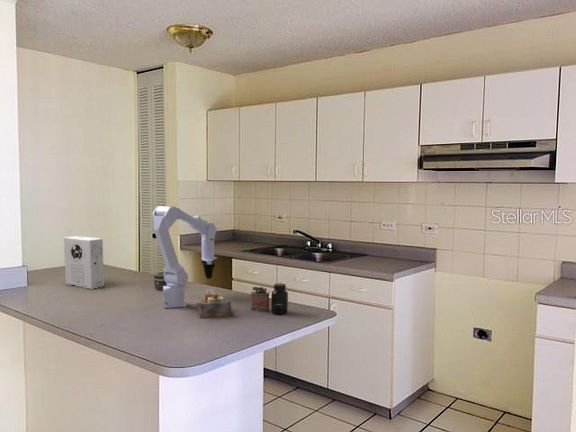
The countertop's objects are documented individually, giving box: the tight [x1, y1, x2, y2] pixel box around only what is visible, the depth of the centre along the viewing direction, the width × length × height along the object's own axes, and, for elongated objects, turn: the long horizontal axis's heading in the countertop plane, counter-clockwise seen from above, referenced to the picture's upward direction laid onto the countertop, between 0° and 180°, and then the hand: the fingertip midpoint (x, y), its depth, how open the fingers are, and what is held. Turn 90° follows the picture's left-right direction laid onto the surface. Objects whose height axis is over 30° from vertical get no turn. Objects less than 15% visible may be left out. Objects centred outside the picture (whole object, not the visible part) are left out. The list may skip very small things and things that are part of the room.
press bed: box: [196, 295, 233, 319], centre depth 211 cm, size 13×30×6 cm, turn 14°
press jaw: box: [204, 288, 220, 303], centre depth 218 cm, size 6×12×3 cm, turn 14°
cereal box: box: [63, 235, 105, 290], centre depth 253 cm, size 22×8×25 cm, turn 58°
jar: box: [153, 271, 168, 291], centre depth 247 cm, size 10×10×8 cm
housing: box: [208, 295, 224, 303], centre depth 203 cm, size 6×4×6 cm, turn 104°
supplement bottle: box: [270, 282, 289, 316], centre depth 202 cm, size 7×7×12 cm
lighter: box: [250, 286, 270, 313], centre depth 206 cm, size 8×3×10 cm, turn 71°
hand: (208, 277), depth 229 cm, fingers open, 6 cm apart
